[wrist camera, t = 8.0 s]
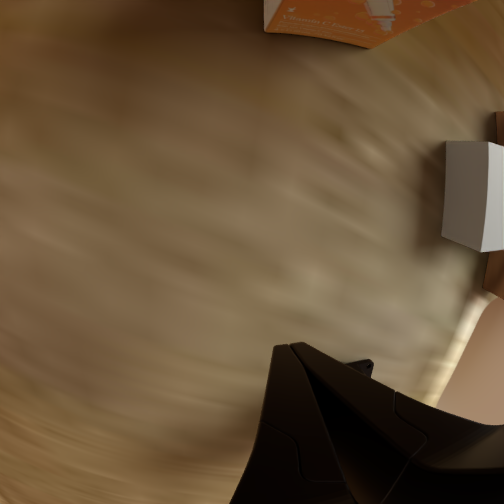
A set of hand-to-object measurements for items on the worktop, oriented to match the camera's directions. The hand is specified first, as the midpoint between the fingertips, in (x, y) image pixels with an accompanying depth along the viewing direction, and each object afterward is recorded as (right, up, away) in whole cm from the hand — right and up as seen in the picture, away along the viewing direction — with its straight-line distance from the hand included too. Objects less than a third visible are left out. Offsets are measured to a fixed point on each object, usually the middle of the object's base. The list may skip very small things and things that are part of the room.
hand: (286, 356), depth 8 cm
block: (+19, +8, +14) cm, 25 cm away
